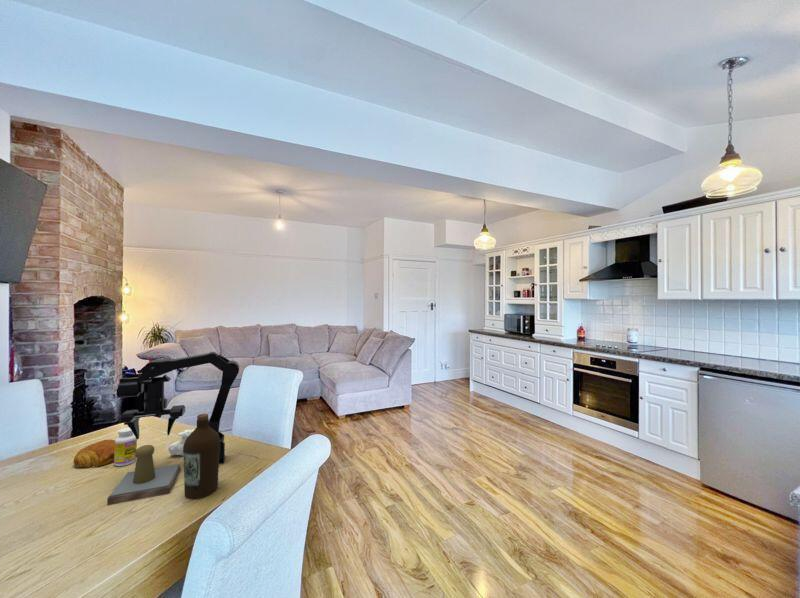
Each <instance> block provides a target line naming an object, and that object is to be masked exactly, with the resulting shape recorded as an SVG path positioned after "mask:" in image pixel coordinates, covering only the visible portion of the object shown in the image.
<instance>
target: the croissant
mask: <svg viewBox="0 0 800 598" xmlns="http://www.w3.org/2000/svg"><path fill="white" fill-rule="evenodd" d="M114 450H115V439H103V440H100V441H96V442H95V443H91V444H89V445H87V446H85V447H83V448H81V449H80V450H79V451H78V452H77V453H76V454H75V456H74V458H73V465H74V466H75V467H77V468H84V467H85V468H91V466H94V467H93V468H98V467H102V466H104V465H108V464H110V463H114Z"/></svg>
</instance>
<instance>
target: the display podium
mask: <svg viewBox="0 0 800 598" xmlns="http://www.w3.org/2000/svg"><path fill="white" fill-rule="evenodd" d="M181 467H182V465H181V464H173V465H166V466H165V465H164V466H158V467H154V470H155V478H154V479H153V480H151V481H149V482H146V483H142V484H134V483H133V478H134V472H135V470H134V471H129V472H127V473H126V474H125V475H124V477H123V478H122V479H121V481H120V482H119V483H118V484H117V486H116V487H115V488H114V489H113V491H112V492H111V493H110V495H109V496H108V497H107V501H106V502H107V504H106V505H107V506H110V505H114V504H119V503H124V502H131V501H135V500H140V499H146V498H152V497H157V496H162V495H169V494H170V493H171V491H172V489H173V487H174V485H175V482H176V480H177V478H178V477H179V475H180V473H181V470H182V468H181Z"/></svg>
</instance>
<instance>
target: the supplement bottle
mask: <svg viewBox="0 0 800 598" xmlns="http://www.w3.org/2000/svg"><path fill="white" fill-rule="evenodd" d="M117 434H118V436H117V437H116V438H115V439H114V440H115V450H114V462H113V464H114V466H116V467H124V466H128V465H131V464H133V463H136V461H137V458H136V457H135V451H136V450H137V449H138V448H137V447H138V446H137V444H138V443H137V442H138V439H136V437H135V435H134V433H133V432H132V430H131V429H130V428H129V427H124V428H121V429H119V430H118V433H117Z"/></svg>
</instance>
